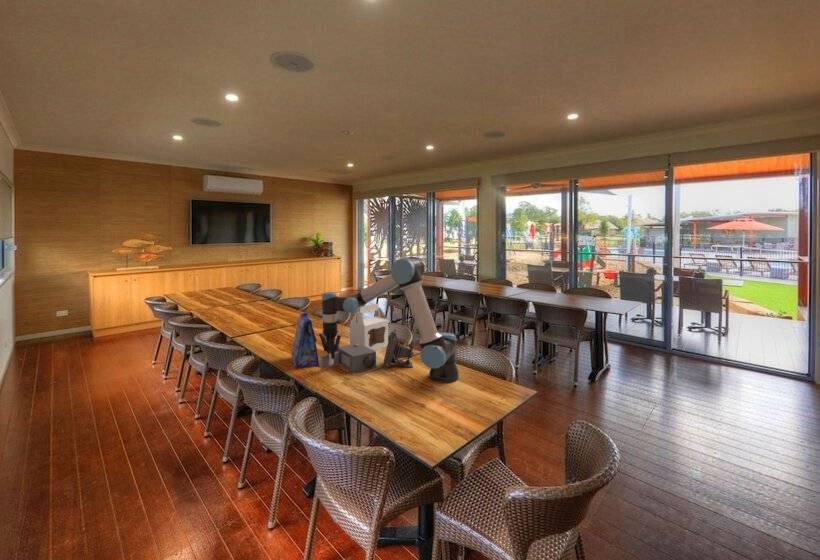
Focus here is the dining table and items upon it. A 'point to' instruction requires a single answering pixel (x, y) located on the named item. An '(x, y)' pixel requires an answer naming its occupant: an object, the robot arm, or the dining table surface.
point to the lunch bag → (304, 343)
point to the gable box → (369, 328)
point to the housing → (357, 357)
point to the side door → (326, 360)
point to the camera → (397, 352)
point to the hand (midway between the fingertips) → (331, 364)
